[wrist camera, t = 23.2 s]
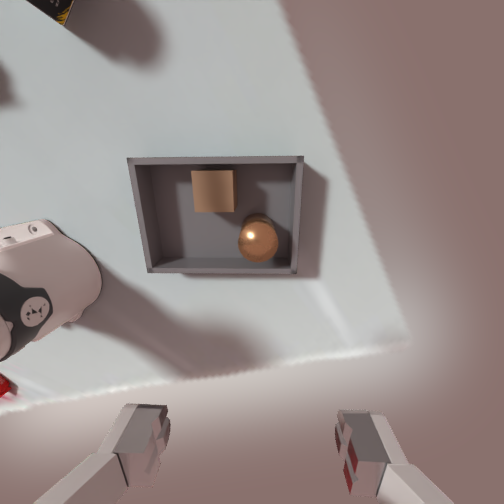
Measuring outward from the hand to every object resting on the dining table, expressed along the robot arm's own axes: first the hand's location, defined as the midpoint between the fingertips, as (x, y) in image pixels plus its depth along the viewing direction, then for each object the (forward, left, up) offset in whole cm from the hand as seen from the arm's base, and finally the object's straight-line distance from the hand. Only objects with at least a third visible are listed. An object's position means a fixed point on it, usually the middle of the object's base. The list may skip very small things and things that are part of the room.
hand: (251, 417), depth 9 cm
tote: (-5, +2, -29) cm, 30 cm away
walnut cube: (-6, +6, -28) cm, 29 cm away
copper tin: (0, 0, -28) cm, 28 cm away
